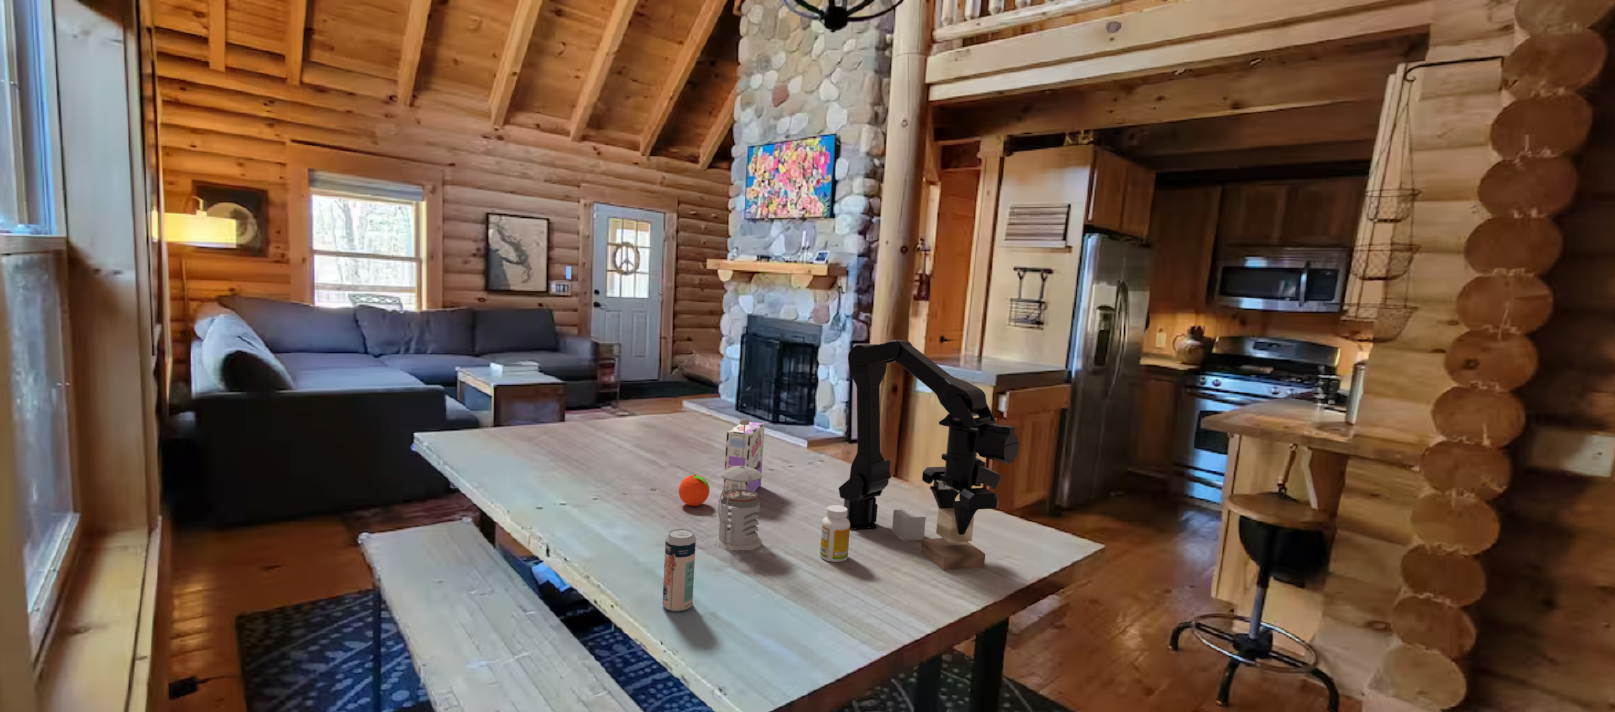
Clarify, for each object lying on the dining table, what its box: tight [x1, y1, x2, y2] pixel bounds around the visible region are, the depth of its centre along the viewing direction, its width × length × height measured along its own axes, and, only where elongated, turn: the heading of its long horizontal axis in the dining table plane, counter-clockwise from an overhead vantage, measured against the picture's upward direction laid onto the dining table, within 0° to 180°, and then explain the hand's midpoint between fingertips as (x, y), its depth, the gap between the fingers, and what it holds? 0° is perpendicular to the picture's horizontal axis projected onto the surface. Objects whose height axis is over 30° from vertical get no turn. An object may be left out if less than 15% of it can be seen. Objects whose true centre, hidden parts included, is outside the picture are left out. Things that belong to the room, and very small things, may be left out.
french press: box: [713, 418, 763, 551], centre depth 136 cm, size 10×12×25 cm
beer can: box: [662, 528, 697, 613], centre depth 109 cm, size 5×5×12 cm
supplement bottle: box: [819, 504, 851, 563], centre depth 133 cm, size 5×5×10 cm
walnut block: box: [920, 537, 986, 571], centre depth 137 cm, size 9×9×3 cm
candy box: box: [722, 421, 765, 499], centre depth 169 cm, size 14×6×16 cm, turn 168°
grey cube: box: [891, 508, 927, 542], centre depth 148 cm, size 5×5×5 cm
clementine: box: [678, 474, 711, 507], centre depth 157 cm, size 8×7×7 cm
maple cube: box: [935, 508, 975, 543], centre depth 136 cm, size 5×5×5 cm
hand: (954, 529), depth 136 cm, fingers closed on maple cube, 5 cm apart
